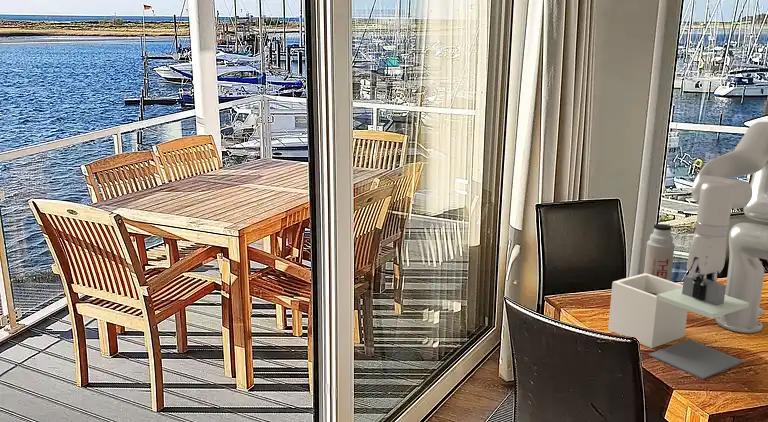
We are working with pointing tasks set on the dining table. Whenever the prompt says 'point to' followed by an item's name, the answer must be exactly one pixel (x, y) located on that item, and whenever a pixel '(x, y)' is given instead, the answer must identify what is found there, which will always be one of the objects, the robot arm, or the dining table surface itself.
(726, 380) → the dining table surface
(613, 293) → the storage box
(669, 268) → the thermos bottle
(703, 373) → the mat
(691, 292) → the lid
